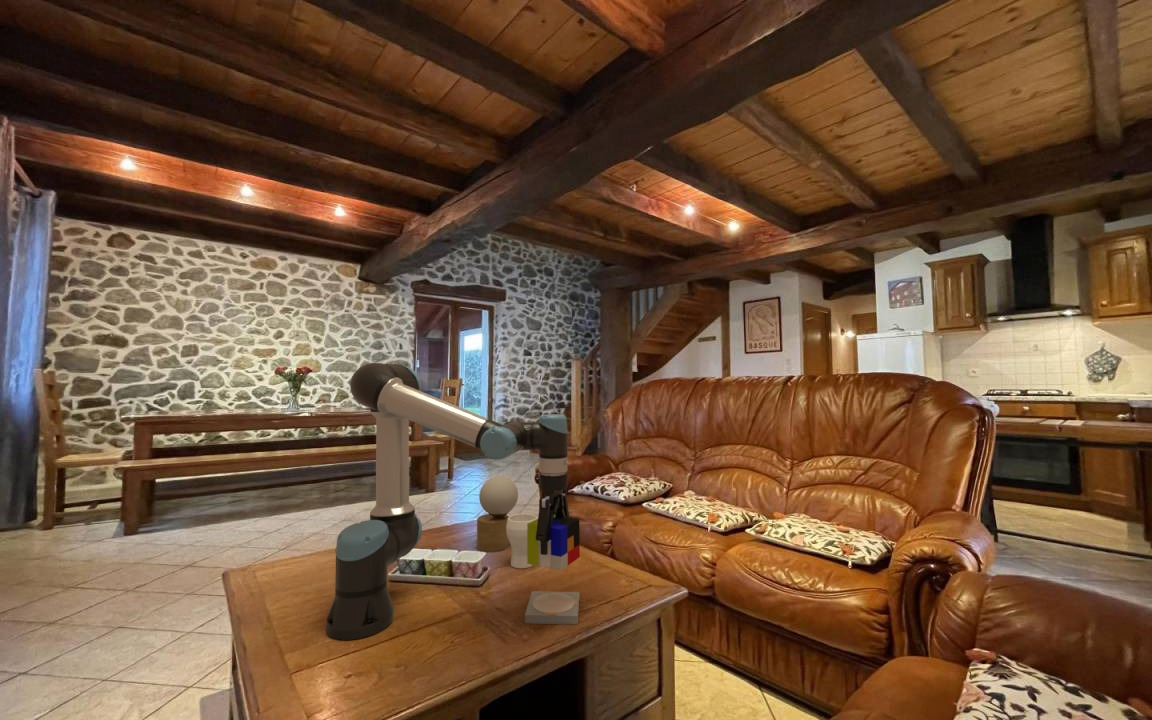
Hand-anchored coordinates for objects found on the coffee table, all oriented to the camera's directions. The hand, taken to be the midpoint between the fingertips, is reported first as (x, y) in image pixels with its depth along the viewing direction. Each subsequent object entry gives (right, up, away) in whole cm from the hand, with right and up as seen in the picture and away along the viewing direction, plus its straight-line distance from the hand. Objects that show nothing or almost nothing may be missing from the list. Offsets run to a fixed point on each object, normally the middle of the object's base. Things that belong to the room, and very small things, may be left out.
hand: (553, 558), depth 119 cm
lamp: (-23, -16, +48) cm, 56 cm away
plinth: (0, -13, -1) cm, 13 cm away
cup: (-12, -15, +31) cm, 36 cm away
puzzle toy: (0, -1, 0) cm, 1 cm away
